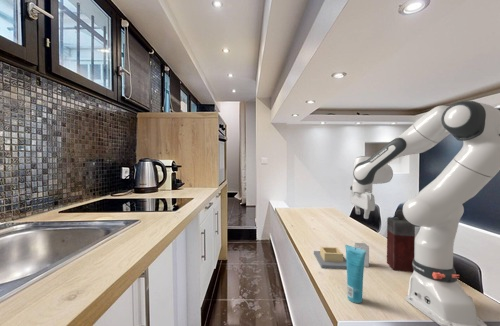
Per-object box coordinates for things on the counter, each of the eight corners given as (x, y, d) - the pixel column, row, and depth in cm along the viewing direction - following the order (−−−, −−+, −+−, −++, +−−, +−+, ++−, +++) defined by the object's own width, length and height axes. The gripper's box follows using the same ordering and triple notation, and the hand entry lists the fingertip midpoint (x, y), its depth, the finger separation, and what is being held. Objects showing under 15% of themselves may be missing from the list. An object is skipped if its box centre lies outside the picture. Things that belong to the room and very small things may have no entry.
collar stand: (351, 269, 109) (351, 257, 109) (321, 268, 110) (321, 256, 110) (339, 254, 127) (339, 244, 127) (313, 253, 128) (313, 243, 128)
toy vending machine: (404, 262, 118) (404, 207, 118) (414, 272, 107) (415, 212, 107) (384, 260, 120) (385, 207, 120) (393, 270, 109) (394, 211, 109)
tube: (367, 300, 84) (368, 248, 84) (363, 306, 80) (363, 251, 80) (346, 293, 89) (347, 243, 89) (341, 298, 85) (342, 246, 86)
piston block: (368, 267, 112) (369, 246, 112) (358, 266, 112) (358, 246, 112) (364, 262, 117) (364, 243, 117) (354, 262, 117) (354, 242, 117)
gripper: (379, 191, 104) (378, 221, 104) (360, 186, 125) (360, 212, 125) (364, 190, 105) (364, 221, 105) (348, 186, 125) (348, 211, 125)
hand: (361, 216), depth 115 cm, fingers open, 8 cm apart
